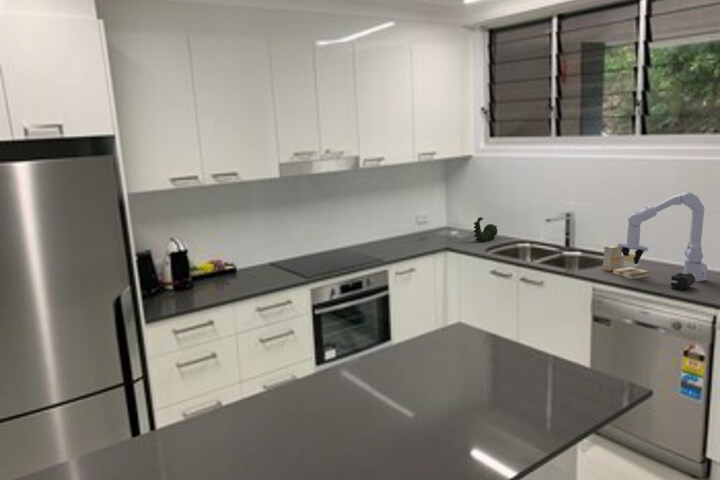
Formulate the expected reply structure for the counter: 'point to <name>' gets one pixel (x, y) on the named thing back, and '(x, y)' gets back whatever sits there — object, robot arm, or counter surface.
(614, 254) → the supplement box
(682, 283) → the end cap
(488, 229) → the toy figurine
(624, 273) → the stand
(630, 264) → the block
